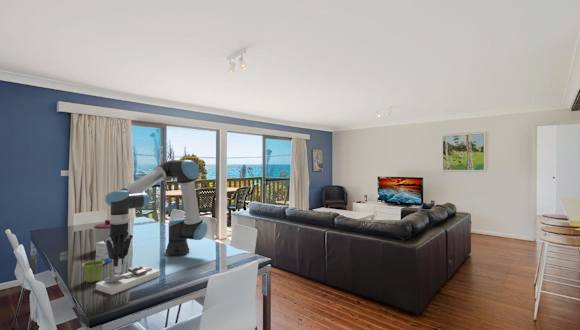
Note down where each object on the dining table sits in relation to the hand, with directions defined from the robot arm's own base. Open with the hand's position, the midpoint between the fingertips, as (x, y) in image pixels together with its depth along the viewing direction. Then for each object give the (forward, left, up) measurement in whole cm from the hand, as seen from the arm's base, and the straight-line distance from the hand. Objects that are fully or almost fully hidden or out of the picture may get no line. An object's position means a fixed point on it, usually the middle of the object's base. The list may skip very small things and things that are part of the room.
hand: (118, 272), depth 136 cm
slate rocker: (-2, 0, -5) cm, 5 cm away
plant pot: (-22, +1, -8) cm, 23 cm away
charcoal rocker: (-3, +12, -5) cm, 13 cm away
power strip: (-3, +8, -8) cm, 12 cm away
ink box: (-46, +21, -8) cm, 51 cm away
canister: (-69, +37, -8) cm, 78 cm away
